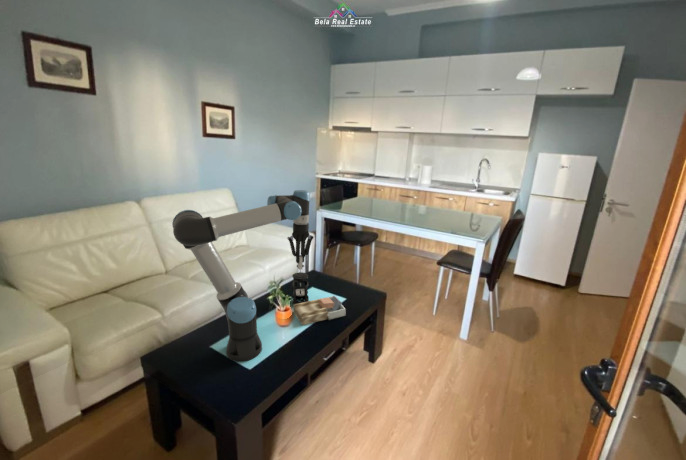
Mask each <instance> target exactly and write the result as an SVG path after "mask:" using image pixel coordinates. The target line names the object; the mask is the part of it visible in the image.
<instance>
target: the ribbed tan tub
mask: <svg viewBox="0 0 686 460" xmlns="http://www.w3.org/2000/svg"><path fill="white" fill-rule="evenodd" d="M319 299H320V298H318V299H313V300H309V301H308V302H303V303H298V304H294V305H292V306H293V310H292V311H293V314H294V315H295V316H296V318H297V320H298V321H299V323H300V324H301V326H305V325H310V324H313V323H314V324H315V323H318V322H322V321H326V320H329V319H328V312H327V311H326V309H327V308H322V307H321V306H320V305H319Z"/></svg>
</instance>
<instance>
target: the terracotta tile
mask: <svg viewBox="0 0 686 460" xmlns="http://www.w3.org/2000/svg"><path fill="white" fill-rule="evenodd" d="M318 299H319V305H320V306H321V307H322V308H333V305H334V302H333V301H332V300H331V299H330V298H326V297H322V298H318Z"/></svg>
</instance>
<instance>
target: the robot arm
mask: <svg viewBox="0 0 686 460" xmlns="http://www.w3.org/2000/svg"><path fill="white" fill-rule="evenodd" d="M310 202H311V201H310V192H309V191H308V190H303V189H296V190H294V191H293V193H292V194H290V195H287V194H286V195H285V194H284V195H277V194H275V195H270V196H268V197H267V202H266V204H267V205H264V206H260V207H259V206H258V207H256V208H255V207H254V208H252V209H248V210H244V211H243V210H241V211H238V212H234V213H230V214H226V215H221V216H218V217H211V216H206V217H204V216H203V215H202V214H201V213H199V212H198V211H195V210H192V209H184V210H181V211H179V212H178V213H177V214H175V216H174V218H173V220H172V225H171V226H172V228H173V229H172V230H173V236H174V238H175V239H176V241H177V242H179V244H181V245H182V246H183V247H184V249H186V250H190V251H191V252H192V254H193V256H194V258H195V259H196V260H197V262H198V263H199V265H200V266H201V269H202V270H203V271H204V273H205V274H206V276H207V278H208V279H209V280H210V281H209V282H210V283H211V284H212V286H213V288H214V289H215V290H216V292H217V294H216V299H217V300H218V302H219V303H220V306H221V307H222V309H223V310H224V313H225V317H226V319H227V325H228V326H227V327H228V336H229V337H228V341H227V345H226V348H225V352H226V353H225V354H226V357H227V358H228V359H229V360H230V361H233V362H247V361H250V360H252V359H255V358H256V357H258V356H259V355H260V354H261V352H262V350H263V344H262V340H261V338H260V336H259V333H258V325H257V324H258V323H257V322H258V321H257V306H256V303H255V301H254V300H253V299H252V298H249V296H248V293H247V292H246V290H245V289H244V288H243V286H242V284H241V283H240V282H236V281H235V279H234V277H233V276H232V274H231V272H230V271H229V269H228V268H227V265H226V264H225V262H224V260H223V259H222V257H221V255H220V254H219V252H218V251H217V248H216V246H215V245H214V244H213V242H216V241H218V239H219V238H221V237H225V236H228V235H232V234H236V233H239V232H244V231H247V230H251V229H255V228H258V227H262V226H266V225H269V224H275V223H278V222H281V221H285V220H289V221H292V222H293V223H292V234H291V235H290V236H287V238H286V239H287V240H288V242H289V246H290V250H291V254H292V255H293V256H294V257H295V262H296V264H297V265H298V267H297V269H298V270H299V271H300V270H301V271H302V270H303V267H302V265H303V263H305V258H306V256H308V255H309V252H310V249H311V244H312V241H313V240H314V235H312V234H310V231H309V230H310V228H309V227H310V225H309V222H310ZM294 240H295V242H294ZM294 243H295V244H294Z"/></svg>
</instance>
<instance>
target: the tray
mask: <svg viewBox="0 0 686 460" xmlns="http://www.w3.org/2000/svg"><path fill="white" fill-rule="evenodd" d="M333 296H334V295H331V296H326V297H325V298H330V299H332V298H333ZM326 311H327V312H328V319H327V320H328V321H331V320H335V319H338V318H342V317H346V316H347V308H345V307H344V305H343V303H342V304H341V305H340V307H339V308H338V309H337V311H333V310H332V309H331V308H327V309H326Z"/></svg>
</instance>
